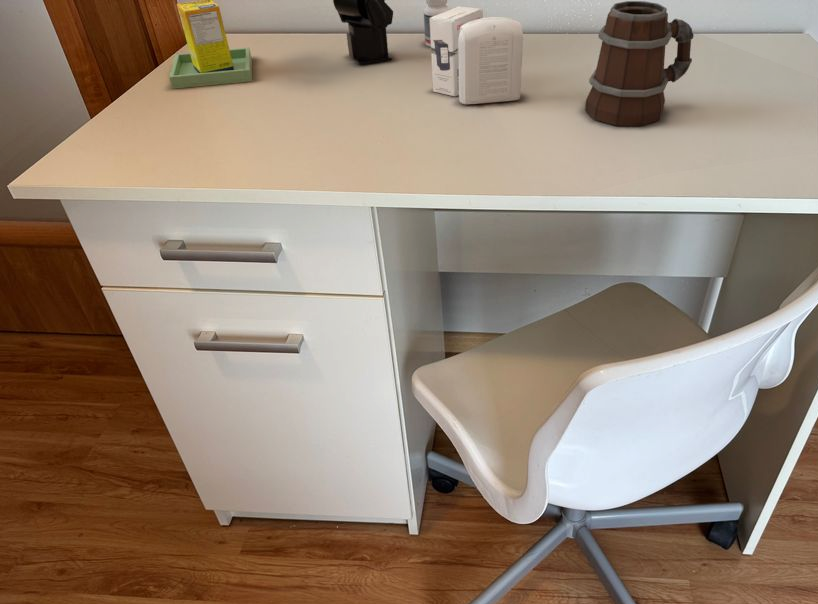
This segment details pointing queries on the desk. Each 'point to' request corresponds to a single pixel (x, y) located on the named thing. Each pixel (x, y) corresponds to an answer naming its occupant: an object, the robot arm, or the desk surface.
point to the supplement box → (205, 36)
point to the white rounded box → (490, 60)
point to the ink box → (448, 47)
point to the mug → (636, 64)
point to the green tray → (189, 77)
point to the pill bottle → (435, 7)
